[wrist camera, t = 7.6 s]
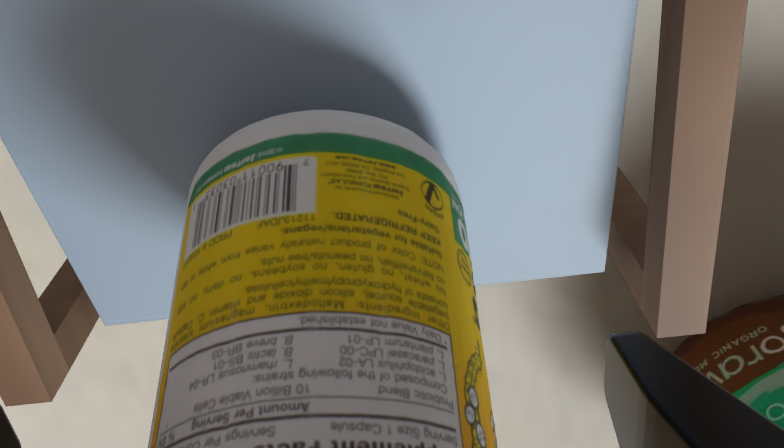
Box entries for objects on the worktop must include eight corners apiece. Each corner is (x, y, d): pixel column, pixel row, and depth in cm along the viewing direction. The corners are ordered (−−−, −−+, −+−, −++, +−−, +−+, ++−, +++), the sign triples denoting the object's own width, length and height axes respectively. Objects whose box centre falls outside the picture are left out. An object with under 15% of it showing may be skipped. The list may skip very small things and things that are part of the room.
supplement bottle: (218, 64, 11) (97, 864, 6) (510, 139, 13) (649, 812, 7) (172, 249, 15) (73, 832, 10) (401, 288, 17) (436, 803, 11)
